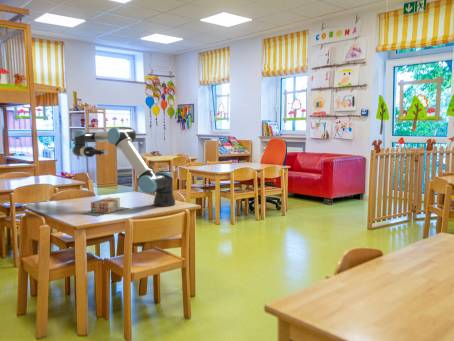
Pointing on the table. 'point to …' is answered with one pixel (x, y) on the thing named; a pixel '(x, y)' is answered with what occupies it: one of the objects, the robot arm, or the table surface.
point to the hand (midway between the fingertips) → (107, 152)
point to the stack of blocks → (105, 205)
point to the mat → (104, 213)
